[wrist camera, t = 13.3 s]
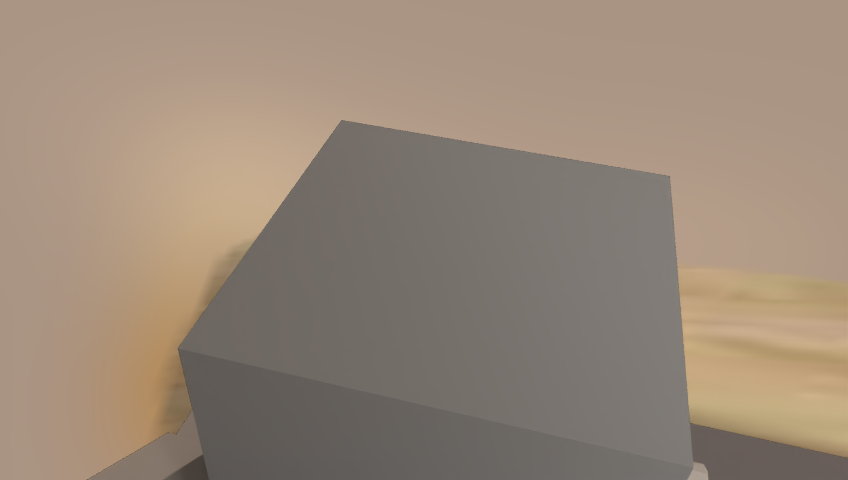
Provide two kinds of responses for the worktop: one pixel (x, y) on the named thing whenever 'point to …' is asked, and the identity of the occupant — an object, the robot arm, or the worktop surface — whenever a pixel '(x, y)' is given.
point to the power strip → (760, 458)
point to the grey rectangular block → (448, 322)
